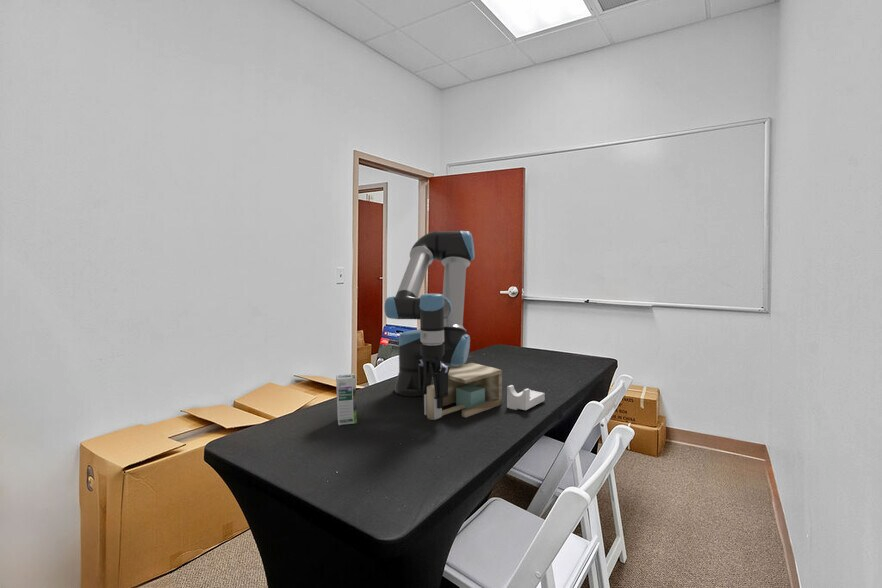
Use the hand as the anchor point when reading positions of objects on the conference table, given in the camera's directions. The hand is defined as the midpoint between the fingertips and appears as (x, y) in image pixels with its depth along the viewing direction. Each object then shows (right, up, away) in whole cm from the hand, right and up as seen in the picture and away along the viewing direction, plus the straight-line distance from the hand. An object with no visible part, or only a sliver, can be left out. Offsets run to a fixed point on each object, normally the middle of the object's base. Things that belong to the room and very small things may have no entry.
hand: (433, 415), depth 137 cm
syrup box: (-27, -1, -3) cm, 27 cm away
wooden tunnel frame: (+12, 0, +11) cm, 16 cm away
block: (+7, 0, +6) cm, 9 cm away
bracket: (+32, 0, +11) cm, 34 cm away
